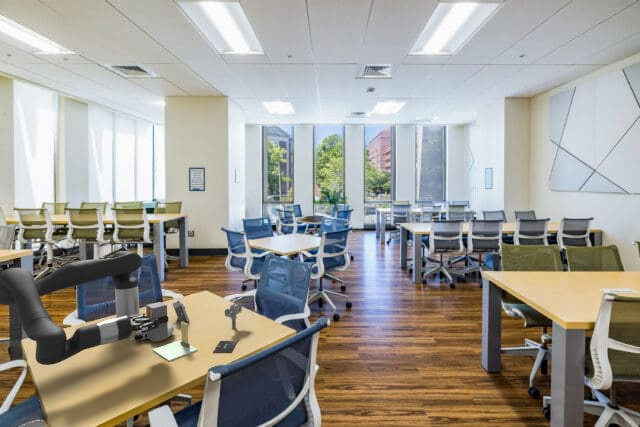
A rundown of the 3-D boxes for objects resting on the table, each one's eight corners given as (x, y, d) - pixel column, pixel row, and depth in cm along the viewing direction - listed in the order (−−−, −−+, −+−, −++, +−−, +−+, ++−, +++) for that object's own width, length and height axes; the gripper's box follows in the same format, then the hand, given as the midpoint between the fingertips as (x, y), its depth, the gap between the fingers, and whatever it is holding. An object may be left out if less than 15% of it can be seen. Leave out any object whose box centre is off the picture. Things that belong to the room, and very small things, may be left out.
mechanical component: (223, 332, 148) (223, 309, 148) (238, 323, 158) (237, 301, 157) (229, 333, 147) (229, 310, 147) (243, 324, 157) (243, 302, 156)
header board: (152, 350, 132) (151, 326, 131) (180, 341, 140) (179, 317, 139) (168, 361, 123) (167, 335, 123) (197, 350, 132) (196, 326, 131)
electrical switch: (189, 322, 160) (186, 302, 159) (177, 325, 158) (174, 305, 157) (186, 316, 168) (183, 297, 167) (174, 319, 166) (171, 300, 165)
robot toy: (128, 347, 137) (167, 343, 138) (127, 336, 137) (166, 332, 137) (143, 334, 149) (178, 331, 150) (141, 324, 149) (177, 320, 150)
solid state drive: (212, 354, 130) (212, 352, 130) (220, 342, 140) (220, 340, 140) (231, 353, 130) (231, 352, 130) (237, 342, 140) (237, 340, 140)
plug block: (146, 337, 126) (145, 305, 126) (161, 333, 130) (160, 301, 129) (153, 342, 123) (152, 308, 122) (167, 337, 126) (166, 304, 126)
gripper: (120, 324, 110) (173, 310, 123) (105, 314, 120) (155, 302, 133) (121, 347, 111) (173, 331, 123) (105, 335, 120) (155, 322, 133)
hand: (163, 316), depth 128 cm, fingers closed on plug block, 5 cm apart
